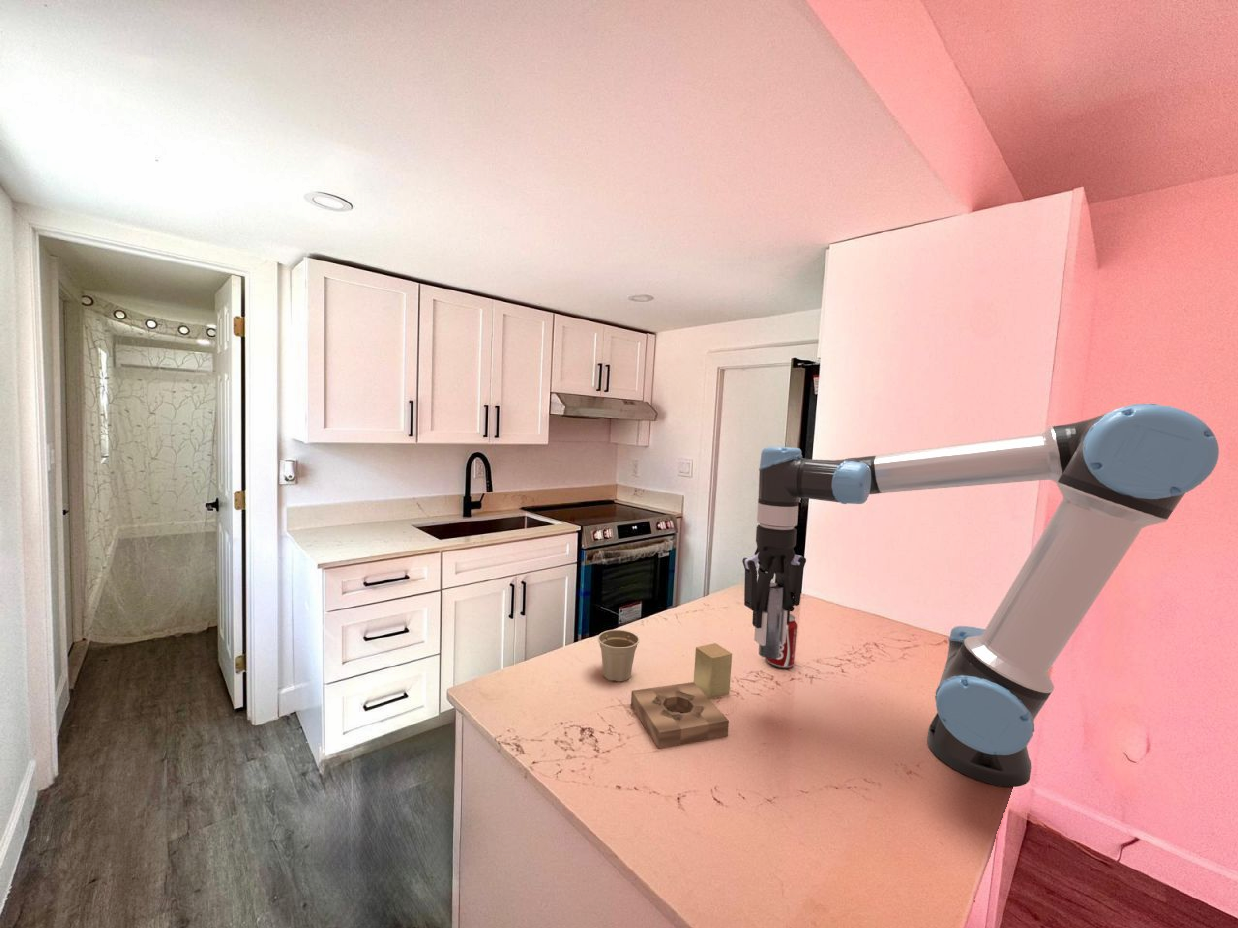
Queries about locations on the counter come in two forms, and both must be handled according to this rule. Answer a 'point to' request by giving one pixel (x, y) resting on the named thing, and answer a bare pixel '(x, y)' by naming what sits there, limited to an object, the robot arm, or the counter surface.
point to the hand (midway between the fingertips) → (769, 641)
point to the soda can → (787, 647)
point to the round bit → (773, 622)
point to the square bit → (713, 670)
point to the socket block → (675, 728)
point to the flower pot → (617, 653)
